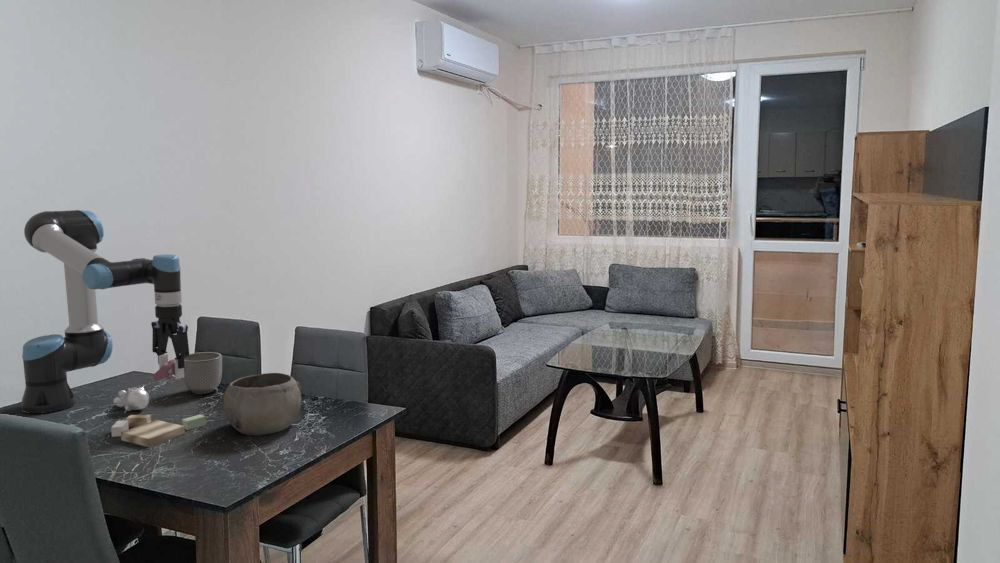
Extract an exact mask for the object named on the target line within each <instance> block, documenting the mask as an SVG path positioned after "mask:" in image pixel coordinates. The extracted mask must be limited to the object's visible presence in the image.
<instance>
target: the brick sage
mask: <svg viewBox="0 0 1000 563" xmlns="http://www.w3.org/2000/svg"><path fill="white" fill-rule="evenodd" d="M181 425H182V426H184V428H185V431H189V430H194V429H197V428H200V427H203V426H207V420H206V415H203V414H197V415H193V416H189V417H186V418H182V419H181Z"/></svg>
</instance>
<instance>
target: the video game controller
mask: <svg viewBox="0 0 1000 563" xmlns="http://www.w3.org/2000/svg"><path fill="white" fill-rule="evenodd" d="M174 359H175V358H174ZM174 359H170V360H168V362H167V363H165V364H164V365H163V366H162V367H161V368H160V369H159V368H158V370H156V372H155V373H154V374H153V376H152V378H153V380H154V381H157V382H158V381H160V380H162V379H163V378H166V379H167V380H169V379H171V378H172V377H173V376H174V377H175V362H174ZM186 364H187V362H186V361H184V365H185V367H186ZM185 367H184V368H185Z"/></svg>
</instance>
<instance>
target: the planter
mask: <svg viewBox="0 0 1000 563" xmlns="http://www.w3.org/2000/svg"><path fill="white" fill-rule="evenodd" d="M184 361H186V362H187V364H186V367H185V368H184V377H183V378H181V379H182V383H183V385H184V386H185V388H186V389H187V390H189V391H190V392H192V394H194V395H207V394H210V393H213V392H214V390H215V388H218V386H219V385H220V384H221V381H222V375H223V354H221V353H220V352H215V351H202V352H193V353H189V356H187V357H185V358H184Z"/></svg>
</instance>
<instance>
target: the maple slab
mask: <svg viewBox="0 0 1000 563" xmlns="http://www.w3.org/2000/svg"><path fill="white" fill-rule="evenodd" d="M185 431H186V429H185V428H184V426H182V424H177V423H172V422H167V421H164V420H158V419H154V420H151V422H149V423H146V424H143V425H140V426H137V427H130V429H128V430H126V431H123V432H121V436H120V437H121V438H120V439H121V441H122V442H127V443H130V444H134V445H140V446H142V447H147V448H151V447H154V446H157V445H159V444H162V443H165V442H168V441H170V440H173V439H175V438H179V437H181V436H184V435H185V434H186V432H185ZM178 436H179V437H178Z"/></svg>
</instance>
